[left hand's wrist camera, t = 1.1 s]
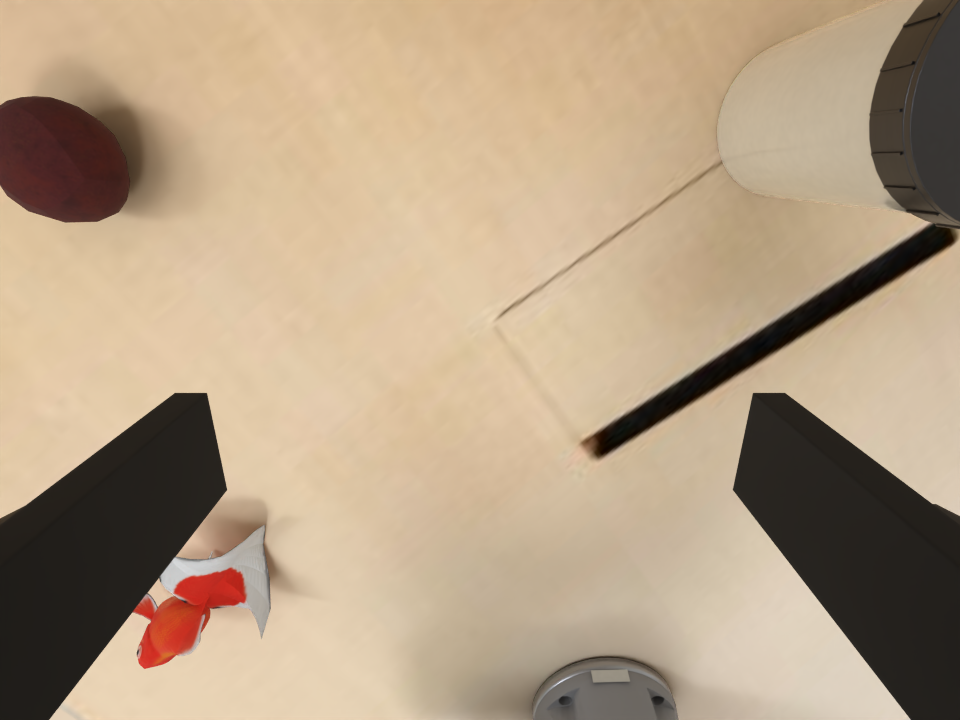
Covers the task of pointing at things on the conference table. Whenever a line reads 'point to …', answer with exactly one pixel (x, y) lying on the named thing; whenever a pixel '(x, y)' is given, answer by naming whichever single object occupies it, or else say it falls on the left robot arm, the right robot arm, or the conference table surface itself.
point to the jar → (813, 112)
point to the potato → (60, 161)
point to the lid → (921, 115)
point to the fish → (204, 598)
